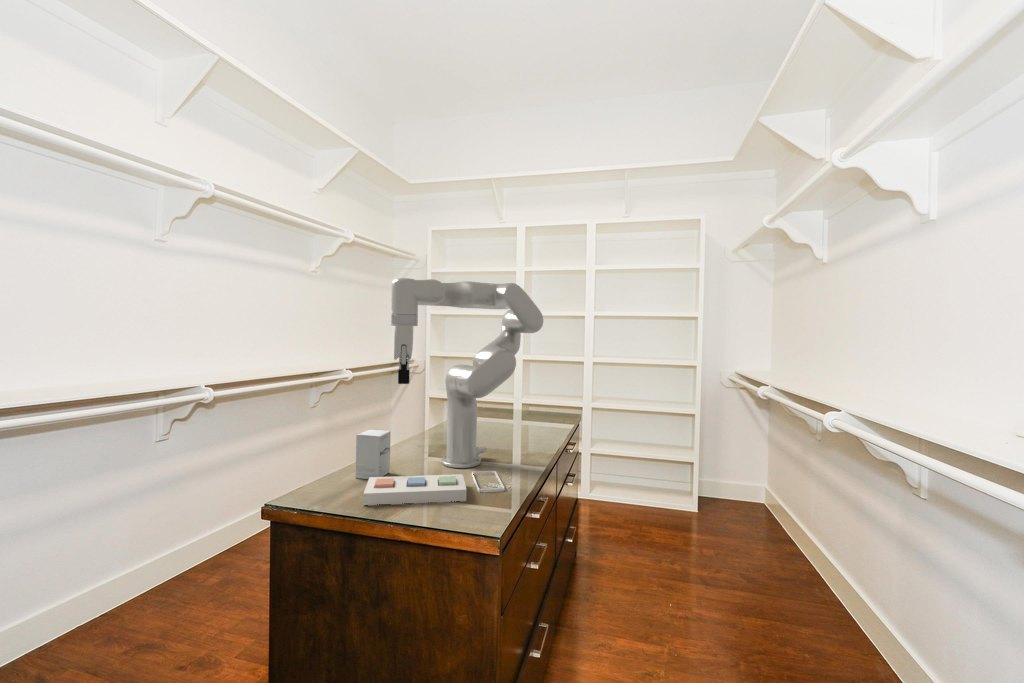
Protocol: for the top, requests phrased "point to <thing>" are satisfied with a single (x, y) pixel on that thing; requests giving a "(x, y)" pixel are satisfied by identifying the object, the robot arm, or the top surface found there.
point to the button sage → (447, 480)
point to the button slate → (416, 482)
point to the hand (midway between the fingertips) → (403, 383)
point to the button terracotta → (384, 483)
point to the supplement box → (372, 454)
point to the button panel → (415, 491)
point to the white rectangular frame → (489, 489)
